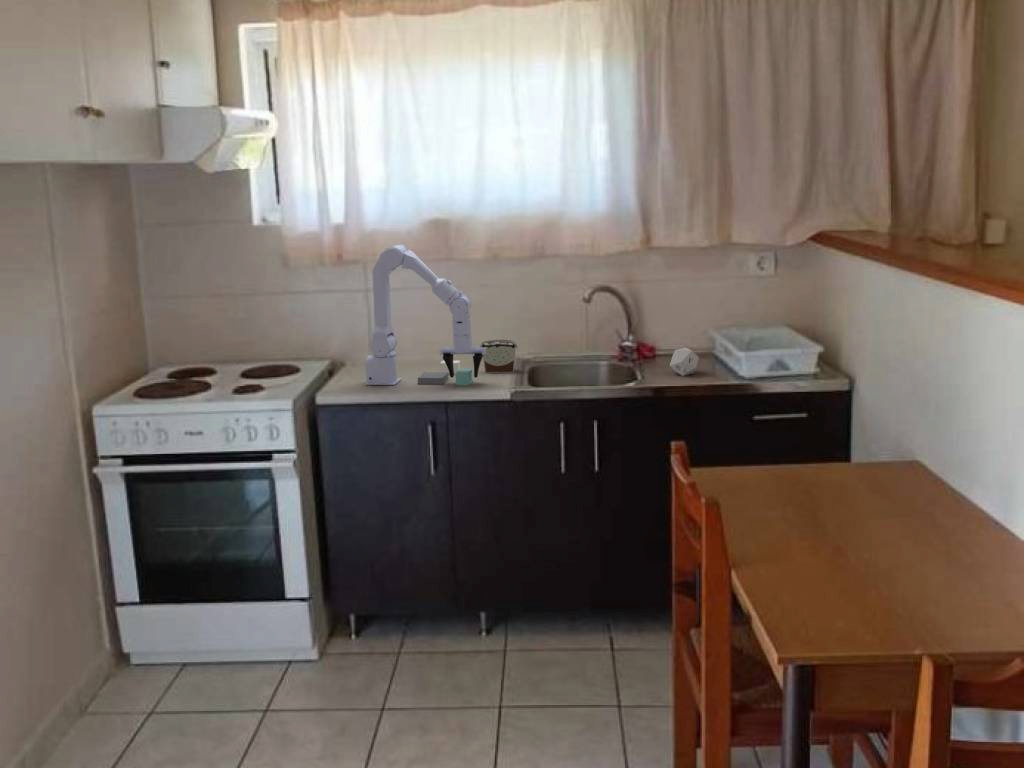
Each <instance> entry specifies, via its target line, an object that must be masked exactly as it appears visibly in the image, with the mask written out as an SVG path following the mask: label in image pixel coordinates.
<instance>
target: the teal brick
mask: <svg viewBox="0 0 1024 768" xmlns="http://www.w3.org/2000/svg"><path fill="white" fill-rule="evenodd" d="M472 382H473V369H472V368H461V369H459V370H458V371H457V372H456V375H455V385H456V386H469V385H470V384H471V383H472Z"/></svg>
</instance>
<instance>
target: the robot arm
mask: <svg viewBox="0 0 1024 768" xmlns="http://www.w3.org/2000/svg"><path fill="white" fill-rule="evenodd" d="M400 266H401V267H400ZM399 267H400V268H401V269H406V270H408V269H409V270H411V271H414V273H416V274H417V275H418V276H419V277H420V278H422V279H423V280H424V281H425V282H427V284H428V285H430V286H431V292H432V293H433V294H434V295H435V296H436V297H437V298H438V299H440V300H441V302H442V303H444V304H445V305H446V306H448V309H449V311H450V313H451V314H452V322H451V323H452V339H453V340H452V343H453V346H451V347H440V348H439V355H441V356H442V361H443V360H444V361H445V363H446V365H447V367H448V370H449V373H450V375H449V376H450V378H454V377H455V375H454V368H453V360H454V355H473V356H472V361H473V377H474V378H478V377H479V376H478V375H479V369H480V366H481V362H482V359H483V355H485V354H486V348H482V347H480V346H473V344H472V342H473V341H472V323H471V322H472V321H471V311H470V310H471V308H472V300H471V299H470V298H469V296H468V295H466V294H463V291H461V290H460V291H459V290H458V289H457V288H456V287H455V286H454V285H453V284H452V281H451V280H450V279H446V278H445V277H444V278H443V277H442V278H439V276H437V275H436V274H435V272H433V271H432V270H431V269H430V267H428V265H426V264H425V263H424V262H423V261H422V259H420V258H419V257H418V255H417V254H416V253H415V252H413V250H411V249H409V248H408V247H407V245H405V244H402V243H398V244H395V245H394V246H389V247H387V248H385V250H383V251H382V252H381V253H380V254H379V257H378V259H377V261H376V262H375V264H374V266H373V268H372V291H373V293H372V294H373V309H374V311H373V312H374V313H373V315H374V327H373V328H374V329H373V330H372V339H371V342H370V345H369V347H370V348H369V349H370V351H371V353H372V355H369V354H368V355H367V356H366V358H365V375H366V376H365V377H366V383H365V385H366V386H370V385H372V386H383V385H384V386H396V385H397V383H399V382H400V381H401V380H402V377H398V370H397V369H398V368H397V352H396V351H395V349H396V347H397V345H398V340H397V337H396V335H395V331H394V330H395V329H394V327H393V325H392V314H391V313H392V312H391V310H392V309H391V308H392V307H391V291H390V290H391V289H390V288H391V286H390V283H391V282H390V275H391V274H392V273H393V272H394V271H395V270H396V269H398V268H399Z"/></svg>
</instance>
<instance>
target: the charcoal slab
mask: <svg viewBox="0 0 1024 768" xmlns="http://www.w3.org/2000/svg"><path fill="white" fill-rule="evenodd" d="M447 379H449V375H448V372H440V371H439V372H436V371H435V372H431V371H430V372H426V371H425V372H423V373H421V374H420V375H419V376H418V377H417V385H444V384H445V383H446V382H447V381H448V380H447ZM446 380H447V381H446ZM445 381H446V382H445Z"/></svg>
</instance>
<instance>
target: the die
mask: <svg viewBox="0 0 1024 768" xmlns="http://www.w3.org/2000/svg"><path fill="white" fill-rule="evenodd" d="M699 358H700V357H699V356H698V355H697V354H696V353H695V351H693V350H692V349H690V348H688V347H683V348H678V349H675V350H674V352H673V354H672V357H671V360H670V364H669V367H670V368H671V369H673V371H675V372H676V373H677V374H678V375H680V376H681V377H682V376H684V377H685V376H688V375H692V374H694V373H695V371H696V369H697V367H698V362H699Z"/></svg>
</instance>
